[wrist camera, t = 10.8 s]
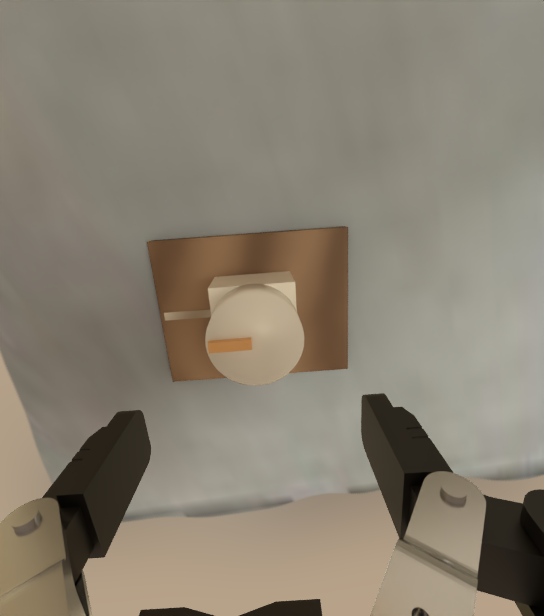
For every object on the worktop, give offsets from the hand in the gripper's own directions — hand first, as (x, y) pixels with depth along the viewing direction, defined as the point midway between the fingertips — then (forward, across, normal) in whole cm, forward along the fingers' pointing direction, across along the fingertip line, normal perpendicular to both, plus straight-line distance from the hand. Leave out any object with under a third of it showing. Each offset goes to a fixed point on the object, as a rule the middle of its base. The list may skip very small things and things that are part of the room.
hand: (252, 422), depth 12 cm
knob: (+13, 0, 0) cm, 13 cm away
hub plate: (+14, 0, 0) cm, 14 cm away
